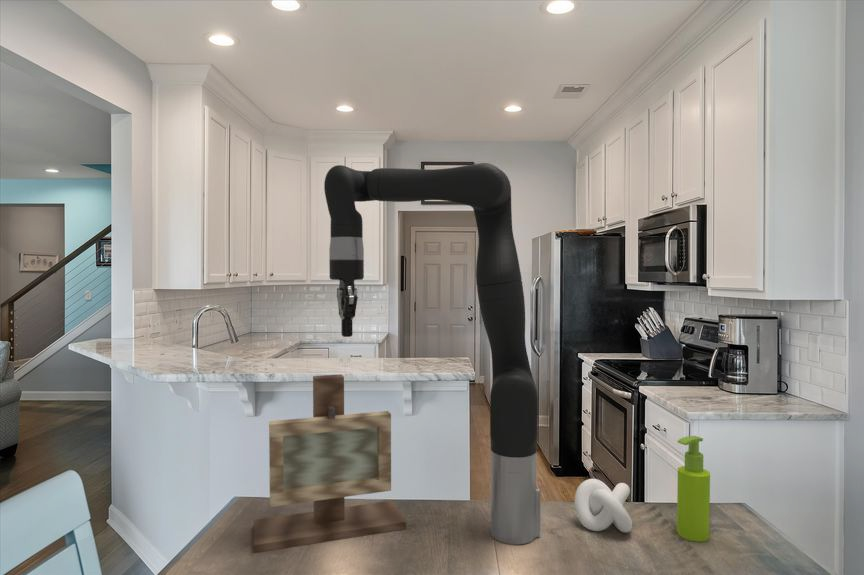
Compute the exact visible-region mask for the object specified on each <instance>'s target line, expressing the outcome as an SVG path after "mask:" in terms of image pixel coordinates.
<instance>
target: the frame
mask: <svg viewBox="0 0 864 575" xmlns="http://www.w3.org/2000/svg"><path fill="white" fill-rule="evenodd" d="M268 432H269V433H268V436H269V437H268V440H269V442H268V446H269V448H268V449H269V450H268V453H269V459H268V460H269V507H270V508H272V507H273V508H274V507H280V506H288V505H293V504H295V505H296V504H301V503H302V504H303V503H308V502H309V503H310V502H314V501H318V500H326V499H333V498H341V497H344V498H346V497H355V496H361V495H362V496H363V495H368V494H377V493H383V492H391V491H392V413H391V412H390V411H388V410H386V411H385V410H384V411H383V410H382V411H374V412H373V411H372V412H362V413H348V414H344V415H336V416H335V408H334V407H333V406H328V416H324V417H313V416H312V417H304V418H303V417H302V418H301V417H300V418H292V419H290V418H289V419H280V420H279V419H278V420H269V421H268Z"/></svg>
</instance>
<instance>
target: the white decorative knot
mask: <svg viewBox="0 0 864 575" xmlns="http://www.w3.org/2000/svg"><path fill="white" fill-rule="evenodd" d="M630 493H631V488H630V487H629V485H628V484H626V483H625V482H619V483H617V484H616V485H615V486H614V488H613V489H612V490H611V489H610V487H608V485H606V483H604V482H603V481H601V480H600V479H598V478H588V479H586V480H584V481H582V482H581V483H580V484H579V486H578V487H577V489H576V491H575V495H574V502H573V503H574V511H575V514H576V516H577V519H578V521H579V522H580V523H581V525H583V527H585V528H586V529H588V530H590V531H592V532H593V531H594V532H601V531H604V530H606V529H608V528H609V527H610V526H611V525H612V524H613V525H614V526H615V527H616V529H617V530H618V531H620V532H622V533H625V534H627V533H630V532H631V531H632V530H633V521H632V518H631V516H630V515H629V513H628V511H627V510H626V508H625V507H624V506H623V505H624V503H625V502H626V500H627V499H628V497H629V495H630Z"/></svg>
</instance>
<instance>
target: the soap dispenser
mask: <svg viewBox="0 0 864 575" xmlns="http://www.w3.org/2000/svg"><path fill="white" fill-rule="evenodd" d="M676 441H677V443H678V444H681V445H684V446H688V445H689V449H688V450H687V451H685V452H684V465H682V466H681V465H680V466H679V467H678V468H677V499H676V501H677V504H676V509H677V510H676V512H677V513H676V534H677V535H678V536H679V537H681V538H683V539H684V540H688V541H690V542H691V541H692V542H697V543H699V542H700V543H702V542H707V541H708V540H709V539H710V509H711V508H710V506H711V505H710V504H711V502H710V501H711V500H710V499H711V493H710V492H711V473H710V471H709V470H707V469H705V468H704V454H703V453H701V452H700V449H699V448H700V447H699V446H700V445H699V444H700V442H704V438H702V437H699V436H697V435H690V436H684V437H682V438H680V439H678V440H676Z"/></svg>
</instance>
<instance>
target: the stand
mask: <svg viewBox="0 0 864 575" xmlns="http://www.w3.org/2000/svg"><path fill="white" fill-rule="evenodd" d="M328 406H333V407H334V408H335V416H336V415H345V377H344V375H343V374H340V373H339V374H331V375H330V374H327V375H313V376H312V415H313V416H312V417H324V416H328ZM406 529H407V520H406V519H405V517H404V516H403V514H402V512H401V511H400V509H399V507H398V506H397V505H396V503H395V502H394V499H393V500H387V501H381V502H380V501H379V502H372V503H366V504H358V505H351V506H345V497H341V498H333V499H326V500H318V501H313V511H308V512H301V513H294V514H293V513H291V514H286V515H285V514H284V515H280V516H279V515H278V516H271V517H265V518H264V517H263V518H258V519H257V518H256V519H253V553H254V554H256V553H263V552H268V551H269V552H270V551H274V550H281V549H282V550H283V549H287V548H295V547H300V546H306V545H307V546H308V545H313V544H320V543H325V542H332V541H339V540H343V539H345V540H346V539H351V538H357V537H358V538H359V537H363V536H370V535H376V534H382V533H383V534H384V533H389V532H395V531H402V530H406Z"/></svg>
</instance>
